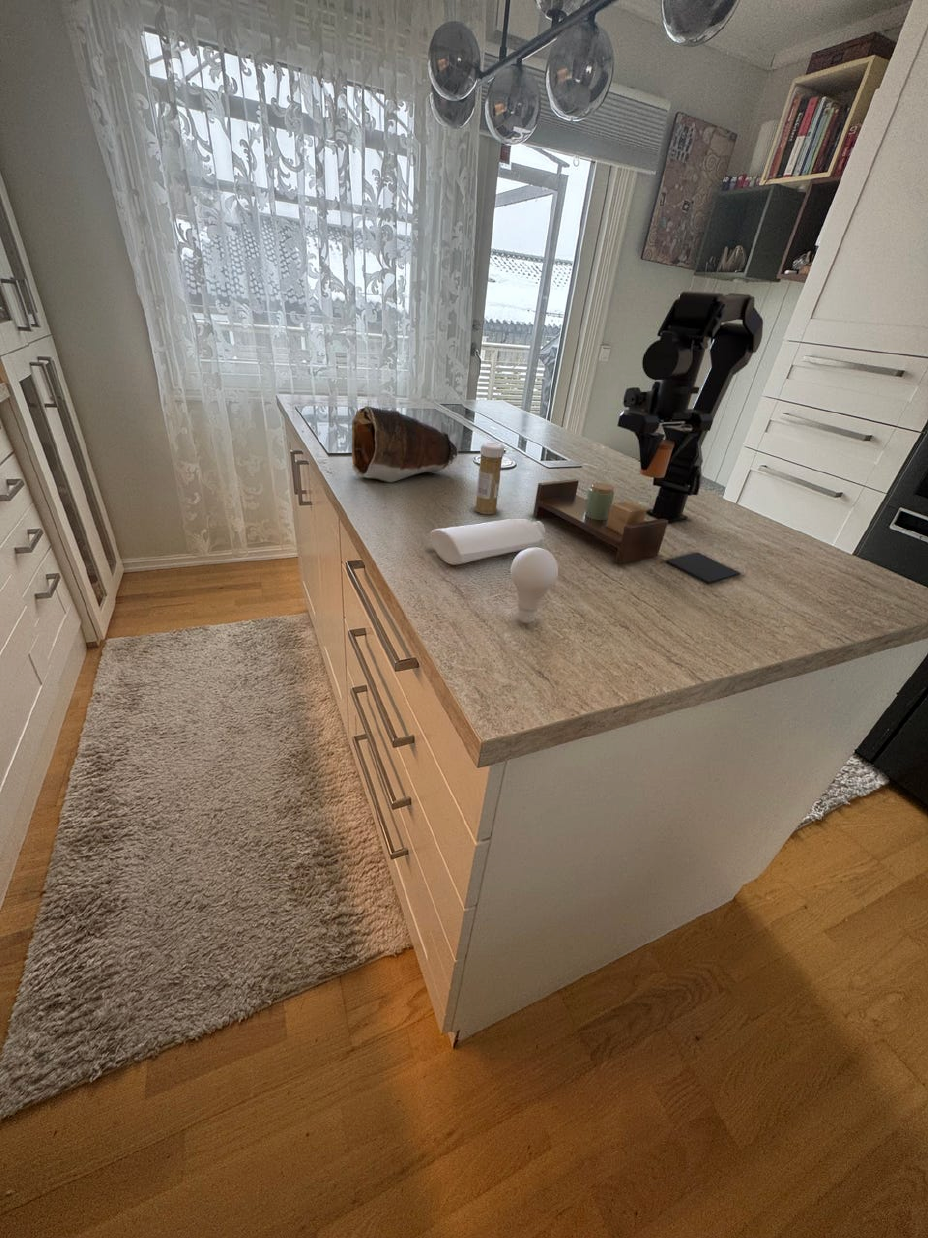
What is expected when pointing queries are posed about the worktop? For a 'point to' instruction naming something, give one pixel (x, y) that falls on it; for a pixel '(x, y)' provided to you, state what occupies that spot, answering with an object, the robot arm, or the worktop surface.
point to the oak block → (625, 515)
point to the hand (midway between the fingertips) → (653, 468)
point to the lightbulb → (532, 580)
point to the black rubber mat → (703, 568)
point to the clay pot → (397, 446)
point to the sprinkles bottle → (489, 477)
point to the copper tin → (659, 461)
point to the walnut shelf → (599, 522)
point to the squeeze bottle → (486, 539)
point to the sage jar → (599, 501)
